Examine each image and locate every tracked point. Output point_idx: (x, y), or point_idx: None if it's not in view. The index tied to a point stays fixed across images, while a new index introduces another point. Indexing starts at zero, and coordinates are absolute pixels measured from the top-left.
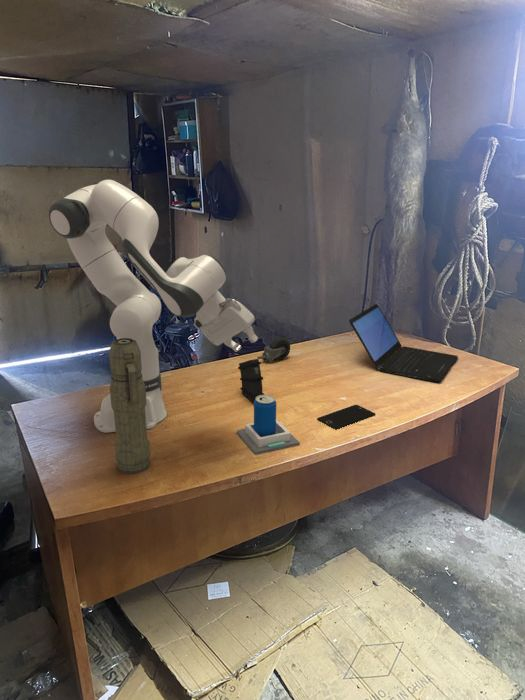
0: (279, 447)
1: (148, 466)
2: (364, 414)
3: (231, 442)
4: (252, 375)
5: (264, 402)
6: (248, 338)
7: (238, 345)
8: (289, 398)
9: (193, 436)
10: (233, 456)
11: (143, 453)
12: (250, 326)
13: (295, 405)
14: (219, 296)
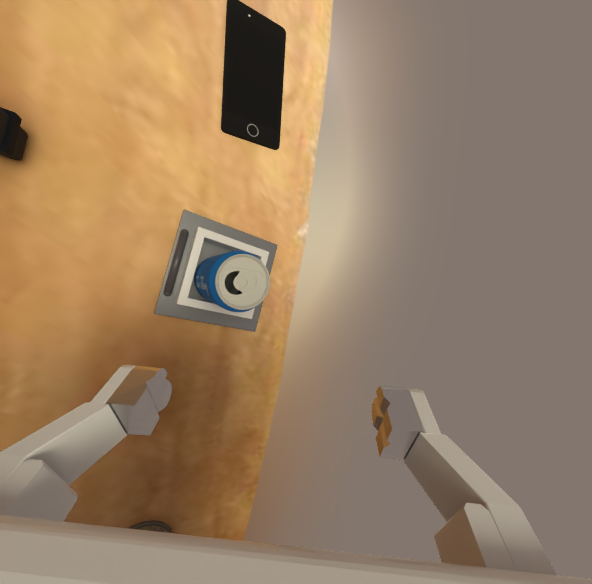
0: None
1: (165, 525)
2: (274, 47)
3: (186, 344)
4: None
5: (256, 295)
6: (384, 455)
7: (149, 396)
8: (55, 43)
9: None
10: (234, 366)
11: None
12: (530, 538)
13: (118, 84)
14: None
